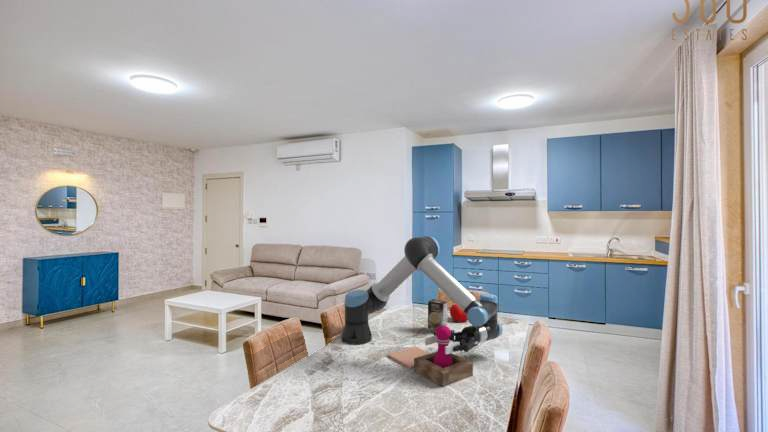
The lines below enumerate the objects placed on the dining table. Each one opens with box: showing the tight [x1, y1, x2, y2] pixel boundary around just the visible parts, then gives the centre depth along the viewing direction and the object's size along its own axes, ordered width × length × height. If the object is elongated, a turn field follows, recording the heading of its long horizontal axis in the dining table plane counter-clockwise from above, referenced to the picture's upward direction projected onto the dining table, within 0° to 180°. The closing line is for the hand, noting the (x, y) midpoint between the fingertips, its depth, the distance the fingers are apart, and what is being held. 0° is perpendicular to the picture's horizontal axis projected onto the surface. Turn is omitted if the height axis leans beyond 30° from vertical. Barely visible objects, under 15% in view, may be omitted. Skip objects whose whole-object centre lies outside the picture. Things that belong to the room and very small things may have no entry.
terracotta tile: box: [386, 345, 431, 370], centre depth 152 cm, size 16×16×1 cm
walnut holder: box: [413, 351, 474, 388], centre depth 137 cm, size 16×16×5 cm
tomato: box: [449, 303, 468, 323], centre depth 207 cm, size 11×13×10 cm
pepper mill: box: [434, 322, 452, 368], centre depth 137 cm, size 7×7×20 cm
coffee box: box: [427, 298, 448, 333], centre depth 188 cm, size 9×6×16 cm
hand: (435, 345), depth 135 cm, fingers open, 10 cm apart
